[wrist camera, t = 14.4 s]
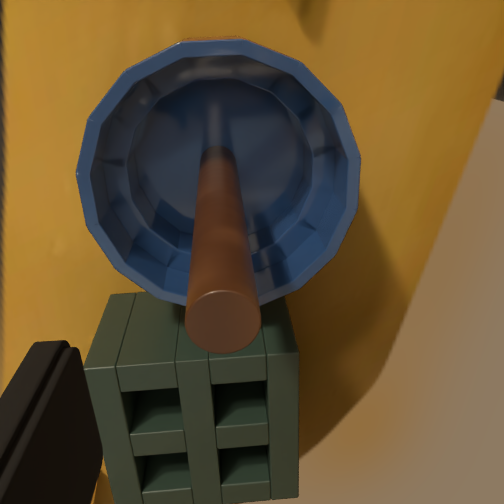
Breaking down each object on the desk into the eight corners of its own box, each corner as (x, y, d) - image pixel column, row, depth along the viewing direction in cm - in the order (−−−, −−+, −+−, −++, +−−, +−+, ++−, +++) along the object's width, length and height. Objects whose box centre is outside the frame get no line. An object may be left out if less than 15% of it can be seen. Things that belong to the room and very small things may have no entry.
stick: (235, 144, 25) (260, 287, 11) (236, 179, 26) (262, 351, 12) (198, 146, 25) (180, 293, 11) (201, 181, 26) (188, 357, 12)
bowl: (336, 30, 23) (369, 33, 19) (328, 253, 29) (352, 301, 24) (84, 42, 23) (49, 47, 18) (124, 267, 28) (105, 319, 23)
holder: (281, 281, 29) (299, 352, 23) (282, 409, 34) (298, 498, 28) (110, 293, 29) (81, 369, 23) (134, 422, 33) (116, 514, 27)
